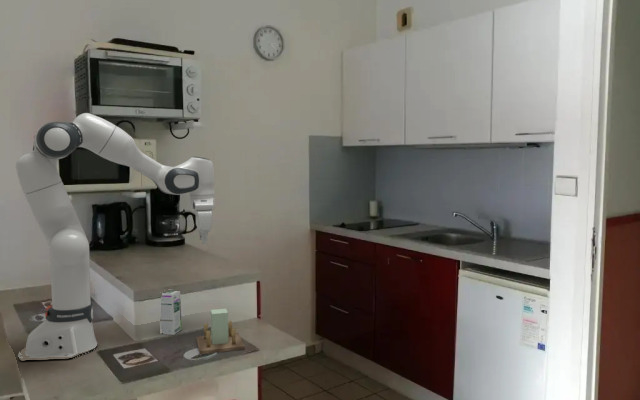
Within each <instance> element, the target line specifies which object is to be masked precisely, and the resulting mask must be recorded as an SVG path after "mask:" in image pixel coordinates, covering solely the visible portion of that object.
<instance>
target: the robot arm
mask: <svg viewBox="0 0 640 400" xmlns="http://www.w3.org/2000/svg"><path fill="white" fill-rule="evenodd" d="M35 132H36V133H35V134H34V135H35V136H34V141H33V147H32V151H30V152H29V153H26V154H23V155H22V156H21V157H19V158H18V160H17V161H16V163H15V168H16V173H17V179H18V181H19V184H20V186H21V189H22V192H23V194H24V197H25V198H26V201H27V203H28V205H29V207H30V209H31V212H32V214H33V216H34V218H35V221H36V222H37V224H38V226H39V228H40V230H41V232H42V234H43V235H44V238H45V239H46V242H47V244H48V247H49V248H48V249H49V250H48V251H49V269H50V285H51V288H50V289H51V305H48V306H47V307H46V308H45V310H44V311H45V313H44V317H45V320H44V321H42V323H40V324H39V325H38V326H37V327H35V328H34V329H33V330H31V331H30V333H29V334H28V336H27V339H26V343H25V344H26V345H25V346H26V351H25V355H26V356H30V357H29V358H47V357H72V356H74V355H76V354H78V353H82V352H85V351H88V350H91V349H93V348H95V347H96V346H97V344H98V342H97V339H96V335H95V331H94V325H93V319H94V311H93V309H94V308H93V303H92V302H91V283H90V278H91V277H90V276H91V275H90V274H91V273H90V272H91V271H90V269H91V268H90V263H91V262H90V243H89V240H88V238H87V235H86V233H85V230H84V228H83V225H82V223H81V221H80V219H79V217H78V215H77V212H76V210H75V208H74V205H73V203H72V201H71V198H70V196H69V194H68V192H67V189H66V187H65V185H64V182H63V181H62V178H61V176H60V173H59V171H58V166H57V165H58V161H59V160H61V159H64V158H66V157H68V156H69V155H70V154H72V153H73V152H74V151H75V150H76V149H77V148H83V149H86V150H88V151H91V152H93V153H94V154H95V155H97V156H99V157H101V158H103V159H105V160H108V161H109V162H113V163H115V164H118V165H122V166H126V167H129V168H131V169H133V170H135V171H136V172H139V173H140V174H142V175H144V176H145V177H147V178H149V179H150V180H151V181H152V182H153V183H154V184H155V186H156V187H157V188H158V189H159V190H160V192H162V193H164V194H167V195H175V196H176V195H177V196H179V195H183V194H187V193H189V195H188V196H189V208H190V209H191V210H193V214H195V225H196V227H197V229H198V234H199V240H200V241H201V244H203V245H207V244H208V235H209V233H210V232H211V230H212V221H213V210H214V209H215V208H216V192H215V188H214V187H215V183H216V181H215V179H216V178H215V169H214V163H213V161H212V160H211V159H209V158H206V157H200V156H192V157H190V158H189V159H188V160H186V161H184V162H182V163H180V164H178V165H175V166H173V165H172V166H171V165H165V164H162V163H159V162H158V161H157V160H155V159H154V158H152V157H150V156H148V155H147V154H145V153H144V152H142V151H141V150H140V148H139V147H138V146H137V144H136V141H135V140H134V138H133V137H132V136H131V135H130V134H129V133H128V132H126V131H125V130H124V129H123V128H120V127H119V126H117V125H115V124H114V123H112V122H110V121H108V120H106V119H104V118H102V117H100V116H97V115H95V114H92V113H90V112H84V113H81V114H78V116H76V117H75V118H74V119H73V121H72V122H65V121H64V122H63V121H52V122H48V123H46V124H45V123H44V124H43V125H41V126H40V127H39V128H38V129H37V131H35ZM20 355H22V354H21V353H20V351H19V352H18V355H17V358H18V357H19V358H21V359H22V358H23V356H21V357H20ZM65 355H67V356H65Z"/></svg>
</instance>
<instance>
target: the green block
mask: <svg viewBox="0 0 640 400" xmlns="http://www.w3.org/2000/svg"><path fill="white" fill-rule="evenodd" d="M228 322H229V312H228V310H227V308H218V309H210V335H211V341H212V344H213V345H215V344H224V343H228V334H229V329H228Z"/></svg>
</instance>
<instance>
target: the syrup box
mask: <svg viewBox="0 0 640 400" xmlns="http://www.w3.org/2000/svg"><path fill="white" fill-rule="evenodd" d="M160 323H161V329H162V333H163V334H162V335H169V336H174V335H175V336H176V334H178V333H179V332H180V331H182V330H181V329H183V326H182V306H181V290H180V291H170V292H166V293H162V297H161V317H160Z"/></svg>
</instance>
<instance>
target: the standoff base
mask: <svg viewBox="0 0 640 400" xmlns="http://www.w3.org/2000/svg"><path fill="white" fill-rule="evenodd" d="M195 340H196V345H197V349H198V353H199V355H207V354H214V353H222V352H223V353H224V352H233V351H241V350H245V349H246V346H245V344H244V341H243V340H242V338H241V335H240V333H239V332H236V328H234V327H233V321H231V320H228V343H224V344H215V345H213V344H212V341H211V330H209V324H208V323H204V324H203V335H201V336H196V339H195Z"/></svg>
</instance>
